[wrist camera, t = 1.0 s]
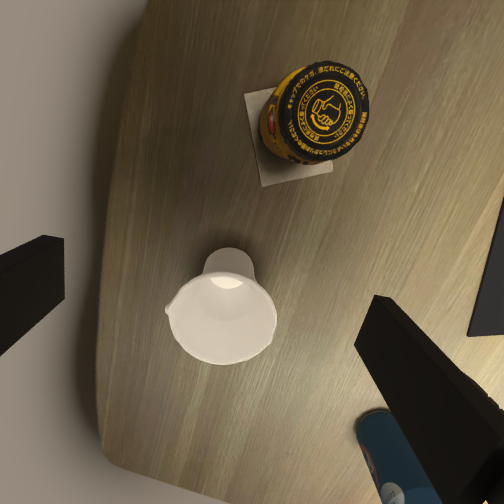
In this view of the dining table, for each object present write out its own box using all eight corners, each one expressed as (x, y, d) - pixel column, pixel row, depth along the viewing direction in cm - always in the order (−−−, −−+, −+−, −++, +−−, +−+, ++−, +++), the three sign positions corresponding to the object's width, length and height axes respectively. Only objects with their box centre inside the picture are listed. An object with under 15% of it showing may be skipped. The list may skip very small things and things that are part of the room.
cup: (197, 222, 30) (178, 258, 21) (279, 249, 32) (295, 294, 22) (176, 292, 33) (151, 352, 24) (252, 314, 35) (256, 378, 25)
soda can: (343, 427, 42) (380, 529, 31) (379, 399, 41) (432, 497, 29) (374, 447, 44) (419, 551, 33) (409, 421, 42) (470, 522, 31)
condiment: (322, 76, 26) (385, 27, 15) (332, 171, 29) (390, 190, 18) (243, 94, 26) (246, 60, 15) (261, 186, 29) (274, 215, 18)
